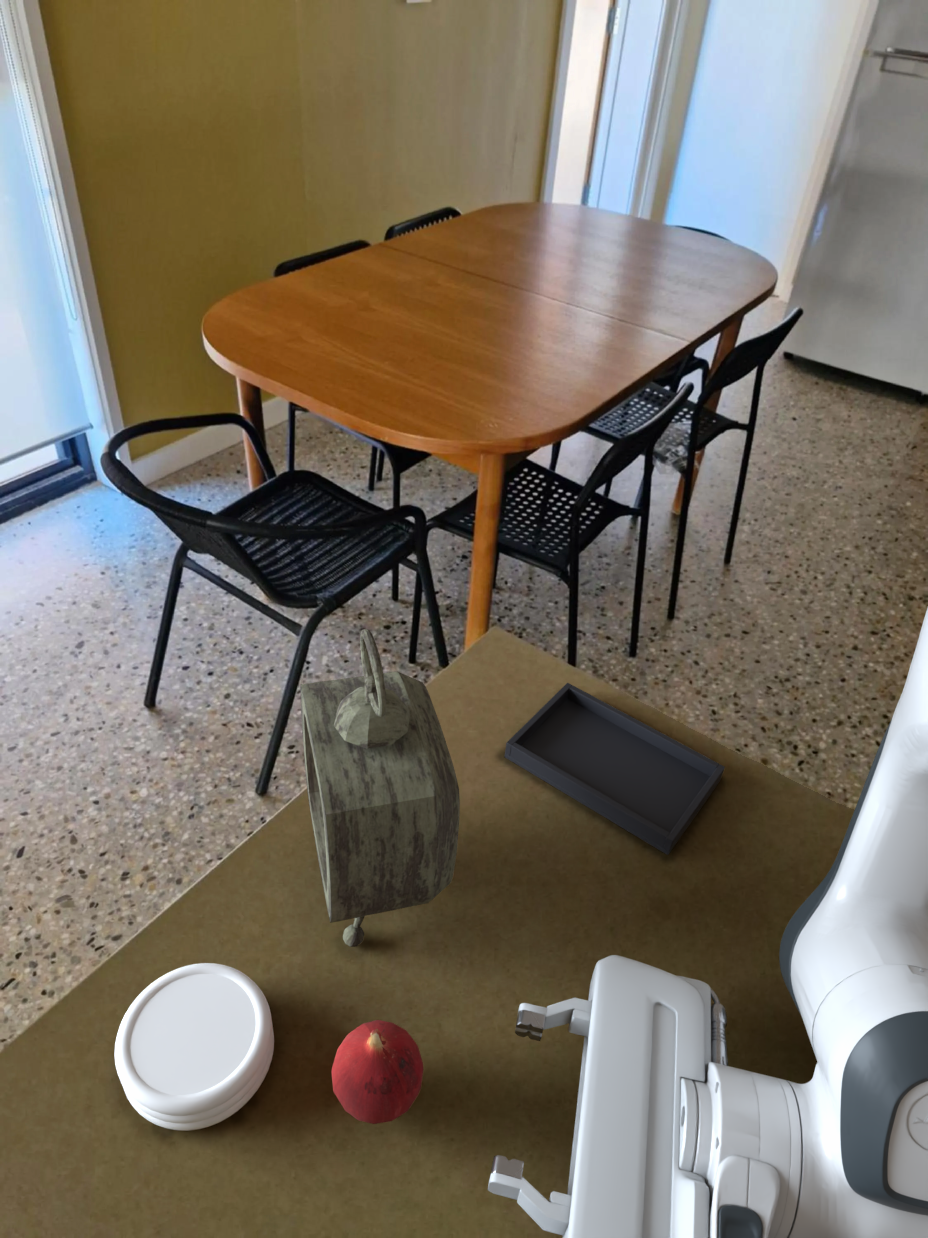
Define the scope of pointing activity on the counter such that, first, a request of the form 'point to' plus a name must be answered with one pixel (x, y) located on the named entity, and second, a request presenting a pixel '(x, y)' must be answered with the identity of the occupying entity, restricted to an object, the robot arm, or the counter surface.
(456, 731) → the counter surface
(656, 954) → the counter surface
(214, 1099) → the white round flat cylinder
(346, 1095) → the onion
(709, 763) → the baking tray
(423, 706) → the tabletop clock
